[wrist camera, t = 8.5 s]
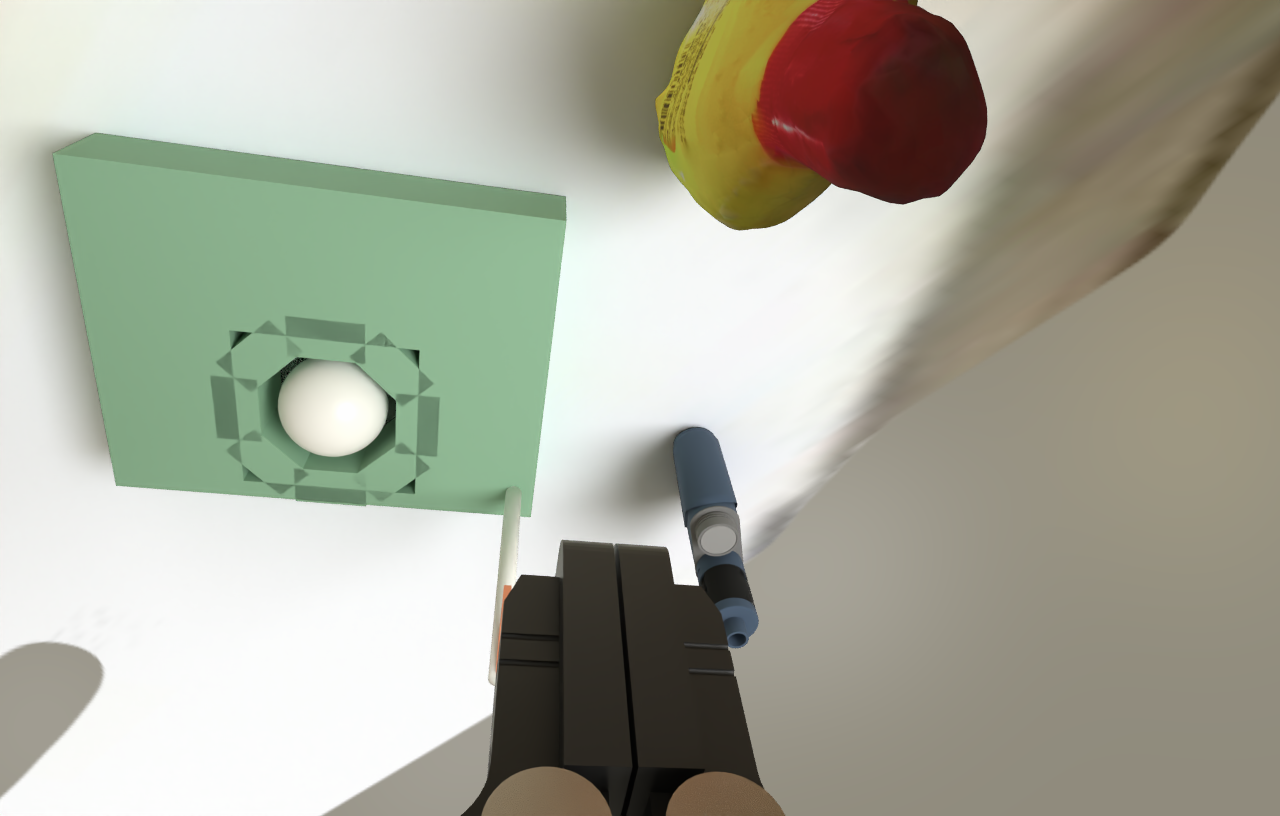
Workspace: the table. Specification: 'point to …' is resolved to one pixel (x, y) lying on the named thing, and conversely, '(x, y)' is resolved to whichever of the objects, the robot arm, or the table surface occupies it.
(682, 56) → the bottle
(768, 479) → the table surface
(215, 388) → the green
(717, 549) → the vaping device
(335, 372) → the ball
